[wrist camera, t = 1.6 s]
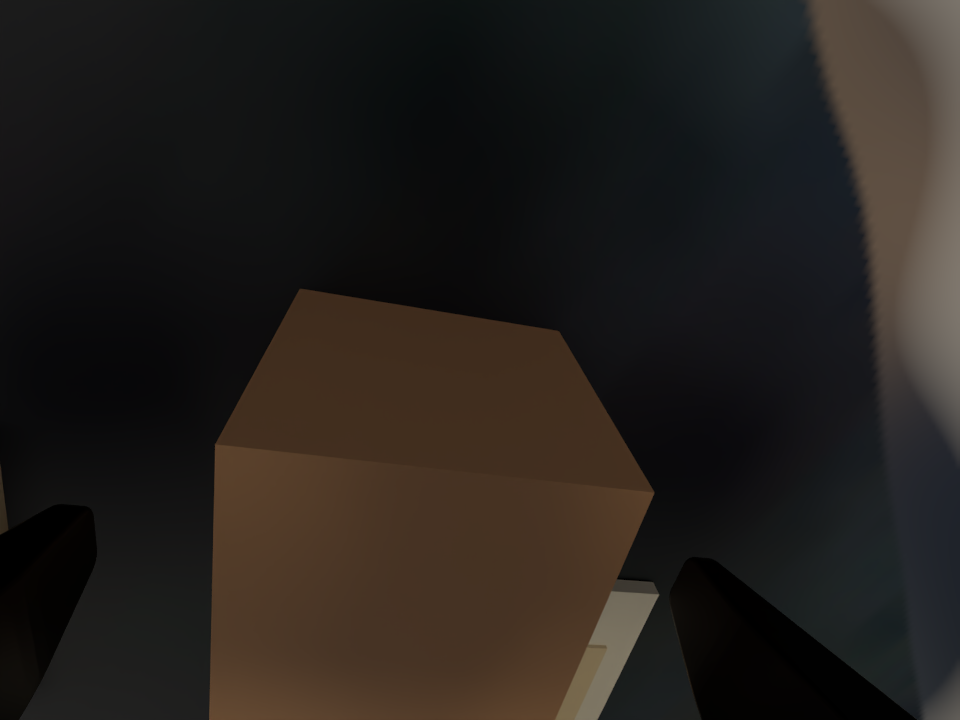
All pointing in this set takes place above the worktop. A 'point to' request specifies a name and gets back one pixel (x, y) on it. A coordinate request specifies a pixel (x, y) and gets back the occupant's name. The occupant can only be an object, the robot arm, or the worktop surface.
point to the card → (608, 649)
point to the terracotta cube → (413, 519)
